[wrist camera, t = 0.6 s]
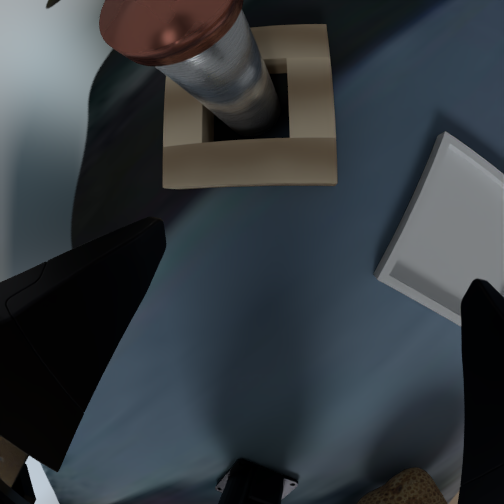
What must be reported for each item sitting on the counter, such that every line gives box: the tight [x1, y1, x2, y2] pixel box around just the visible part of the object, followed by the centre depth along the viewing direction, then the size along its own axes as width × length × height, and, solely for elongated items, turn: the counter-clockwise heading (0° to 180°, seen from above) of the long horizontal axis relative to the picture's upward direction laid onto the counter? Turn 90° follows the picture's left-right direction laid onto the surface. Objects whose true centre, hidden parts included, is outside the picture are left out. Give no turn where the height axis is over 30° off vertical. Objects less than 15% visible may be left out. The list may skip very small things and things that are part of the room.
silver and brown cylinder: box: [99, 0, 281, 136], centre depth 14 cm, size 5×5×14 cm
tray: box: [373, 131, 504, 326], centre depth 18 cm, size 11×11×2 cm
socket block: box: [163, 24, 337, 189], centre depth 19 cm, size 11×11×2 cm
